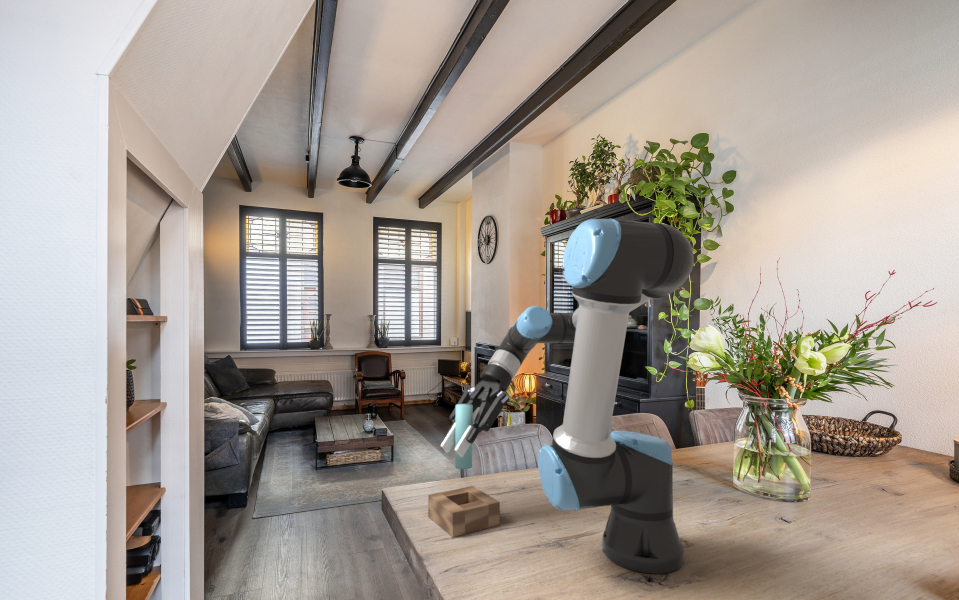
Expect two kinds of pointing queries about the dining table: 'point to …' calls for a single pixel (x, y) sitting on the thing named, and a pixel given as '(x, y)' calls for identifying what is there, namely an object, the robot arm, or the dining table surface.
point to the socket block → (463, 510)
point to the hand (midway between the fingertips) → (451, 451)
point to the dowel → (461, 424)
